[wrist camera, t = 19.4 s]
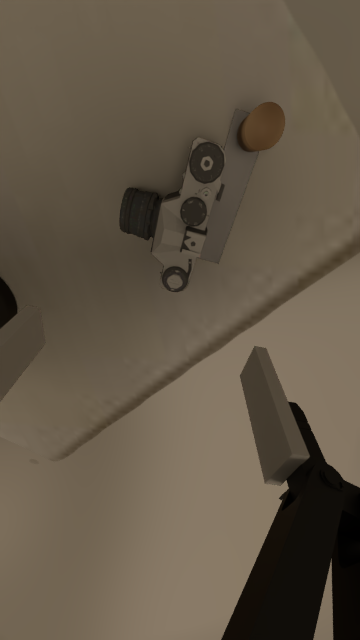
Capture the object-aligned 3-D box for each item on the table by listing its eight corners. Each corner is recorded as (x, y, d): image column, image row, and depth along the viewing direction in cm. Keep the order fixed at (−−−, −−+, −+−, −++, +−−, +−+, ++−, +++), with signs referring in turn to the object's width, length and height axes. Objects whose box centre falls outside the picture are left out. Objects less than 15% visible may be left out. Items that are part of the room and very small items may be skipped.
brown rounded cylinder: (230, 147, 28) (240, 143, 21) (241, 112, 26) (256, 96, 19) (256, 156, 28) (273, 155, 21) (268, 122, 26) (292, 109, 20)
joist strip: (192, 256, 35) (192, 256, 35) (235, 108, 26) (236, 108, 26) (218, 263, 36) (218, 263, 36) (270, 120, 26) (270, 120, 26)
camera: (143, 123, 27) (118, 108, 19) (227, 150, 28) (238, 147, 20) (125, 253, 36) (103, 281, 28) (190, 271, 37) (187, 303, 29)
